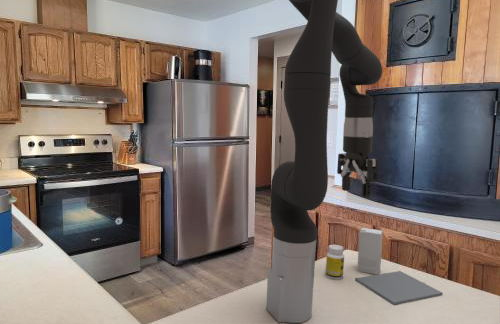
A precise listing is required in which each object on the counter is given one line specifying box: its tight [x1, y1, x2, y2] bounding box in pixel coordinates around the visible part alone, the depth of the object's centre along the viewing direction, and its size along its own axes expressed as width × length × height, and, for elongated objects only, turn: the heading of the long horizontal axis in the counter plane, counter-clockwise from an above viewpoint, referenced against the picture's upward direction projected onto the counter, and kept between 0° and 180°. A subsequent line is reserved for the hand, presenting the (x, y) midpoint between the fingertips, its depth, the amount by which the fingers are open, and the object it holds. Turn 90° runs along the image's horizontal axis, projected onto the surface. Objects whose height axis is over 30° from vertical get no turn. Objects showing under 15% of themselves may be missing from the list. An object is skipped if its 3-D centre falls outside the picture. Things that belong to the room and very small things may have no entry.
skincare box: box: [356, 227, 384, 275], centre depth 104 cm, size 6×4×12 cm
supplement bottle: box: [325, 244, 345, 280], centre depth 99 cm, size 5×5×8 cm
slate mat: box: [354, 270, 443, 306], centre depth 94 cm, size 16×14×1 cm
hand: (355, 193), depth 99 cm, fingers open, 8 cm apart
